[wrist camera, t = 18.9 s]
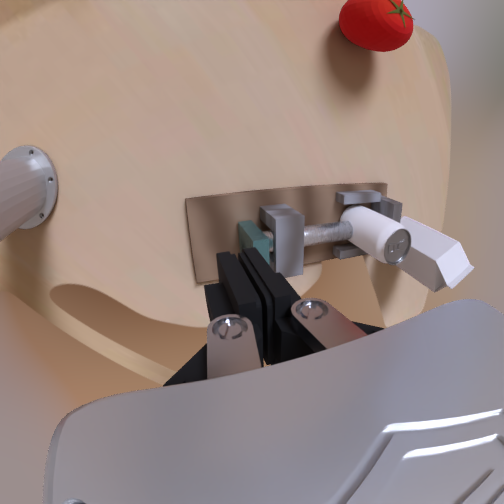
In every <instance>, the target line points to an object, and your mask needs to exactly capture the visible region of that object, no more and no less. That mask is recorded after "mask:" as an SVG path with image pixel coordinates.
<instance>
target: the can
mask: <svg viewBox="0 0 504 504" xmlns="http://www.w3.org/2000/svg"><path fill="white" fill-rule="evenodd" d="M340 221H349V222H350V223H351V224H352V227H353V236H352V238H351V239H348V241H350V242H351V243H353V244H354V245H356V246H357V247H359V248H360V249H362V250H363V251H365V252H366V253H368V254H369V255H371V256H372V257H374V258H375V259H377V260H379V261H380V262H382V263H388V264H390V265H397V264H399V263H400V262H402V261H403V260H404V259H405V257H406V256H407V254H408V252H409V250H410V247H411V235H410V233H409V231H408V230H406V229H405V228H404V226H403V225H402V224H400V223H398V222H396V221H394V220H392V219H390V218H388V217H386V216H384V215H382V214H380V213H377V212H375V211H373V210H371V209H368V208H366V207H364V206H361V205H352V206H350V207H348V208H347V209H346V210H345V211H344V212H343V214H342V215H341V218H340Z"/></svg>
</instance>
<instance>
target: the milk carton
mask: <svg viewBox="0 0 504 504" xmlns="http://www.w3.org/2000/svg"><path fill="white" fill-rule="evenodd" d="M400 224H402V225H403V226H404V228H405V229H406V230H408V231H409V233H410V235H411V247H410V250H409V252H408V254H407V256H406V257H405V259H404V260H403V261H402V262H400V263H399V264H397V265H396V266H397V267H399V268H400V269H402V270H403V271H405V272H406V273H408V274H409V275H410V276H412V277H413V278H415V279H416V280H418V281H419V282H420V283H422V284H423V285H425V286H426V287H428V288H429V289H430V290H432V291H433V292H437V291H439V290H440V289H442V288H444V287H446V286H448V287H449V288H451V289H452V288H453V287H455V286H456V285H457V284H458V283H459V282H460V281H461V280H462V279H463V278H464V277H465V276H466V275H467V274H469V273H470V272H471V271H472V269H474V267H473V266H471V265H470V263H469V261H468V259H467V257H466V255H465V252H464V250H463V248H462V246H461V244H460V242H458V241H456V240H454V239H452V238H450V237H448V236H447V235H445V234H443V233H441V232H438V231H436V230H434V229H432V228H430V227H428V226H426V225H424V224H422V223H420V222H418V221H415V220H413V219H411V218H409V217H407V216H404V217H402V218H401V220H400Z"/></svg>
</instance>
